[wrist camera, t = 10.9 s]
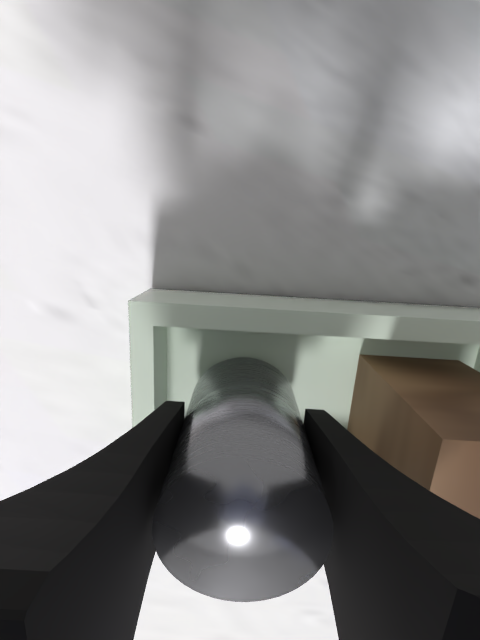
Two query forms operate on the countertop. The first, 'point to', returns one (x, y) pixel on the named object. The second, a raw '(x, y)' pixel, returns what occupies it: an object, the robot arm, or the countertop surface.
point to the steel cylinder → (242, 489)
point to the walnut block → (422, 422)
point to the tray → (283, 342)
